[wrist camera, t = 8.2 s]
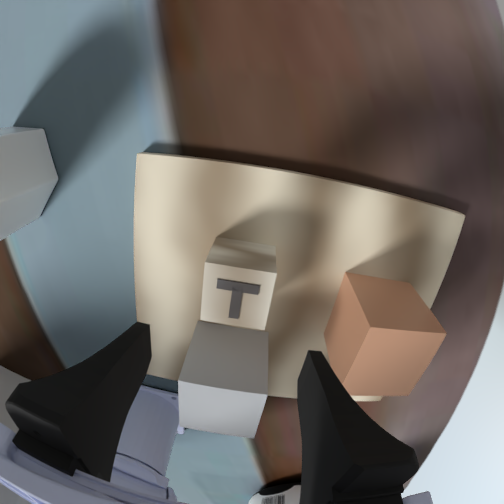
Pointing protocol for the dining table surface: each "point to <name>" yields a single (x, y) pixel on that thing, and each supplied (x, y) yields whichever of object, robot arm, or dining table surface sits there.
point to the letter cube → (238, 283)
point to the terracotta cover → (380, 336)
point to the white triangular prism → (9, 425)
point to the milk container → (278, 494)
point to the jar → (24, 177)
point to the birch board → (287, 250)
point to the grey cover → (224, 380)
